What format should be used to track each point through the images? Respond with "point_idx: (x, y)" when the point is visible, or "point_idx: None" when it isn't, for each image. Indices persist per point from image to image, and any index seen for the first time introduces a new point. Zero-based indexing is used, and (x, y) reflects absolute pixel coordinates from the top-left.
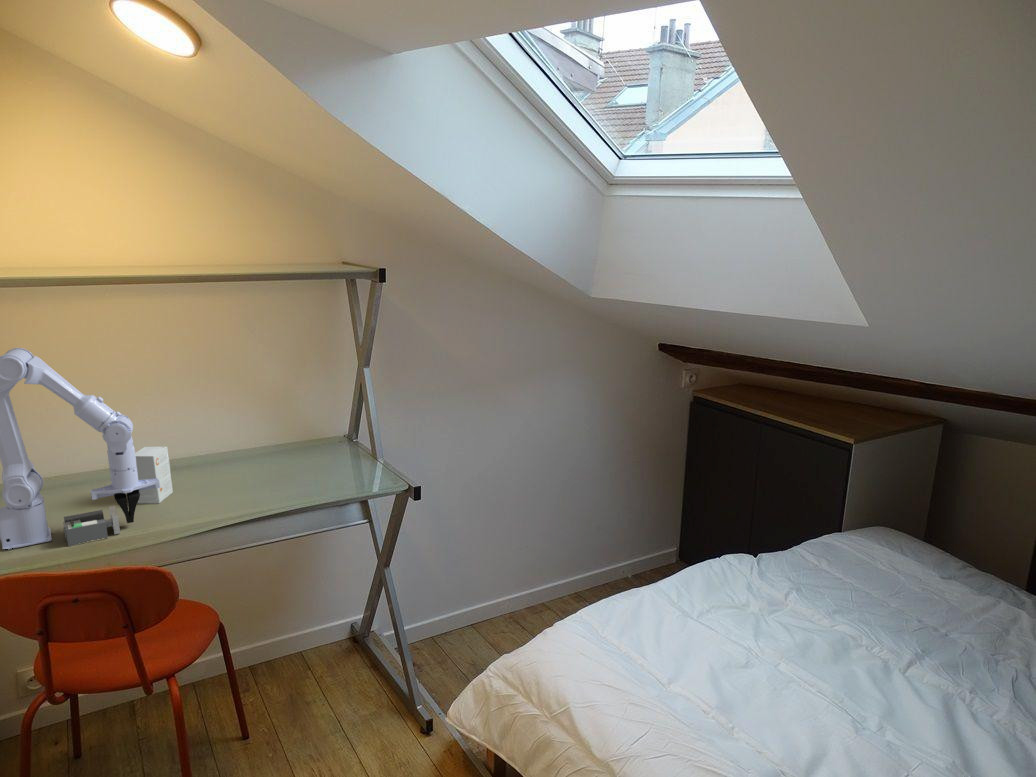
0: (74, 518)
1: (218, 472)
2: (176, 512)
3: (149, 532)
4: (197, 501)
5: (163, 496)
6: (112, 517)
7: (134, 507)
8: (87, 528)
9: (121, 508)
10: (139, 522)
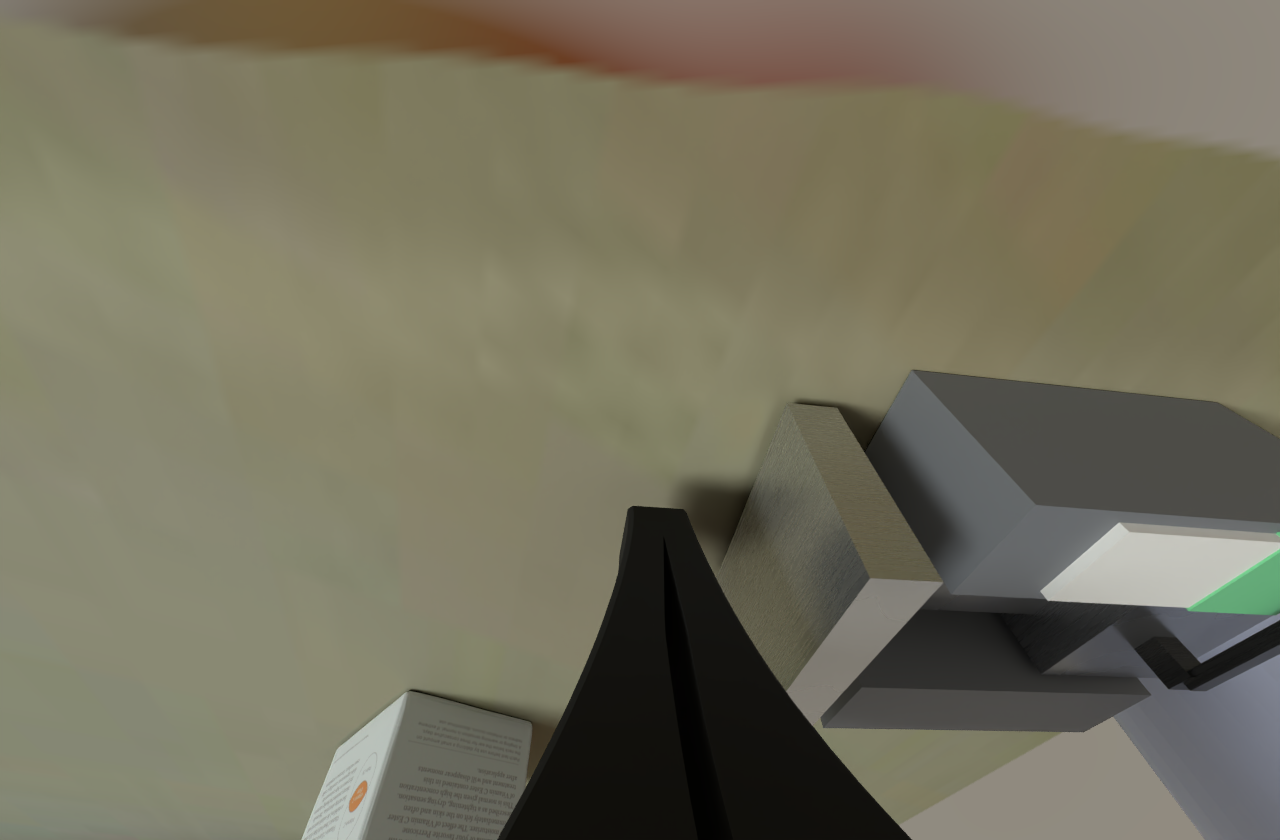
0: (1077, 694)
1: (133, 806)
2: (266, 553)
3: (520, 257)
4: (131, 633)
5: (373, 734)
6: (929, 565)
7: (608, 658)
8: (1208, 492)
9: (782, 687)
10: (566, 530)
